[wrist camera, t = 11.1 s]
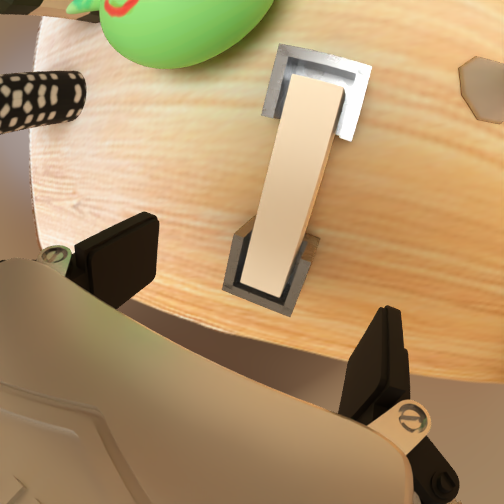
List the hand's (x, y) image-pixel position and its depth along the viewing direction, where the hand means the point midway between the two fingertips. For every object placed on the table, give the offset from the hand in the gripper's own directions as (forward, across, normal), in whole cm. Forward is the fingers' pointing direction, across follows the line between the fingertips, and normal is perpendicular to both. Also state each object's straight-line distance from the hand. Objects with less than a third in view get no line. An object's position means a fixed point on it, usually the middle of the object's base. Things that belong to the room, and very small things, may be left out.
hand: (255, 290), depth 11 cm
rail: (+19, +2, 0) cm, 19 cm away
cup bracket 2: (+21, +3, +8) cm, 22 cm away
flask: (+21, -13, -16) cm, 30 cm away
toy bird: (+21, +17, -18) cm, 32 cm away
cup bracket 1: (+21, +3, -8) cm, 22 cm away
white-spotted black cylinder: (+20, +40, -5) cm, 45 cm away
